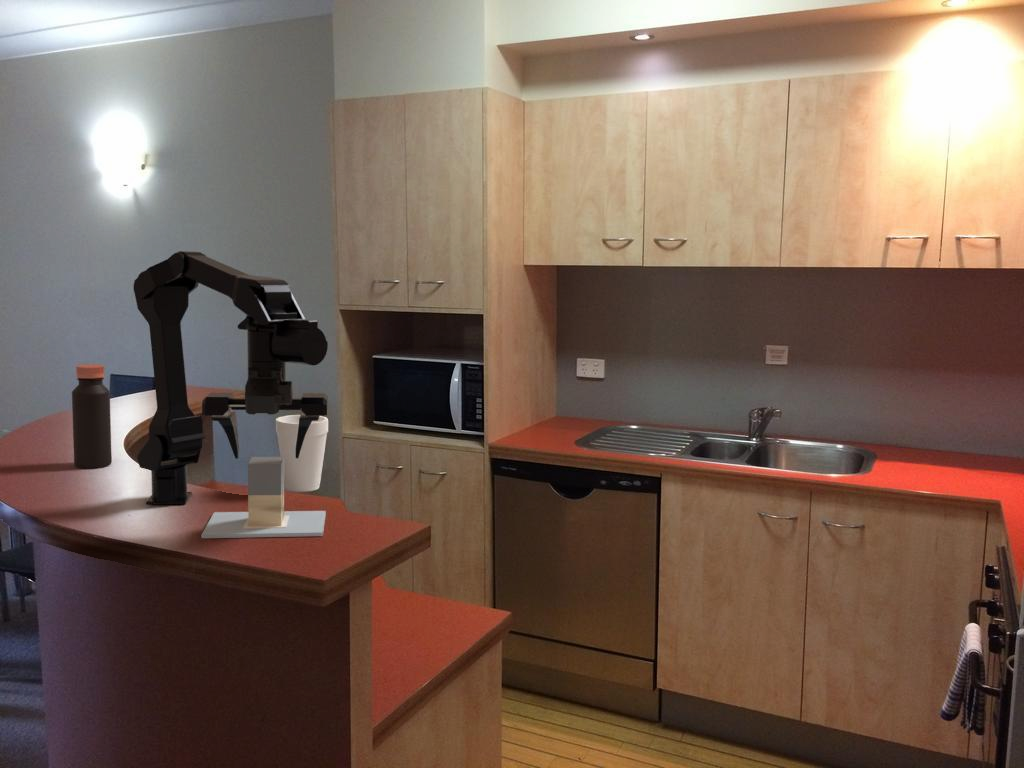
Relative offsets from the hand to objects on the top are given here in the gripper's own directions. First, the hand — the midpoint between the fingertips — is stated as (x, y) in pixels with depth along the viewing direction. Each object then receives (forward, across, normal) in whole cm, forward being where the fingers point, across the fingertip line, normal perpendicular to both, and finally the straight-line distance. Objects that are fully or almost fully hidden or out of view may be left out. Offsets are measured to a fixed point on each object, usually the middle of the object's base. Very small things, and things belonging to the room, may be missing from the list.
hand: (267, 458), depth 140 cm
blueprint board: (+11, 0, 0) cm, 11 cm away
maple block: (+10, 0, 0) cm, 10 cm away
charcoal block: (+5, 0, 0) cm, 5 cm away
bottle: (+11, -38, +43) cm, 59 cm away
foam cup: (+11, +4, +24) cm, 27 cm away
